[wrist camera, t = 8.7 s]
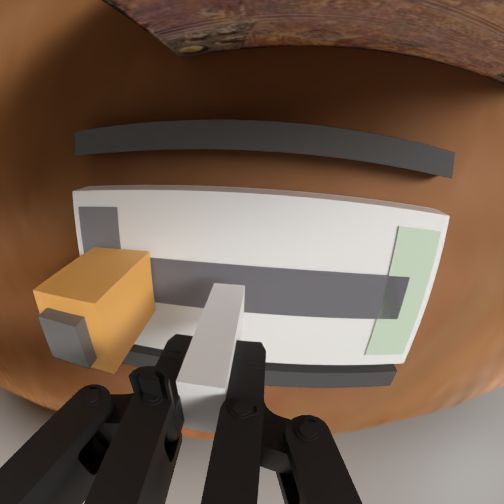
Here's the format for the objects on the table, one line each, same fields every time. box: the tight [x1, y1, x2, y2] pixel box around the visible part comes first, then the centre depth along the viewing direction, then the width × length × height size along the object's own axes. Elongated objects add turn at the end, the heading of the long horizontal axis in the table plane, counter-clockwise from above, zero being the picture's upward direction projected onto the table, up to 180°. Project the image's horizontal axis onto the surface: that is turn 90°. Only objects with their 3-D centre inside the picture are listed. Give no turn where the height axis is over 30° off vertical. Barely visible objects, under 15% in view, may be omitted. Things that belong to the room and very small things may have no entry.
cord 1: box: [74, 120, 455, 179], centre depth 15 cm, size 2×23×2 cm, turn 87°
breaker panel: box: [72, 185, 450, 365], centre depth 17 cm, size 11×23×2 cm, turn 87°
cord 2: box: [122, 344, 397, 388], centre depth 20 cm, size 2×23×2 cm, turn 87°
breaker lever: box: [33, 247, 156, 374], centre depth 14 cm, size 4×4×7 cm
